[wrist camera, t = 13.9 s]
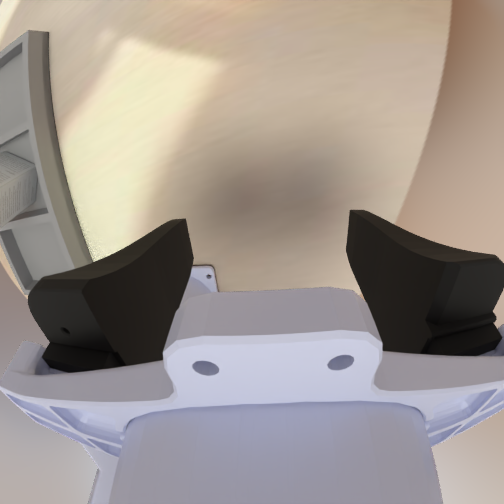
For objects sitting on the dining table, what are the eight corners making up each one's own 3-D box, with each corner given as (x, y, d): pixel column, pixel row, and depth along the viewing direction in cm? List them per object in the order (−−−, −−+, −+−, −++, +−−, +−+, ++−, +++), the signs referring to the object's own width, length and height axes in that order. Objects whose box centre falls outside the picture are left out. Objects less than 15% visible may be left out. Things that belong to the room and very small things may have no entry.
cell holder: (100, 280, 27) (88, 298, 24) (36, 280, 28) (24, 294, 25) (48, 32, 13) (28, 30, 10) (-15, 79, 14) (-33, 83, 11)
